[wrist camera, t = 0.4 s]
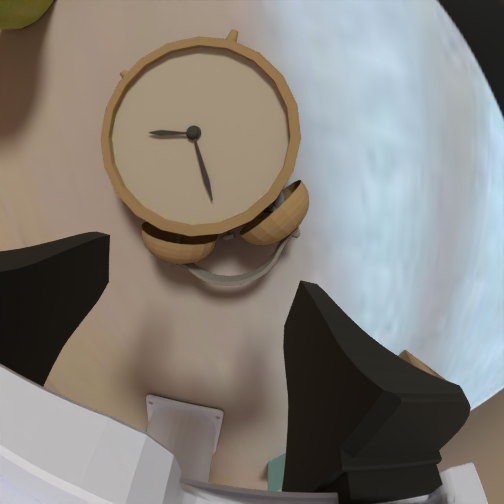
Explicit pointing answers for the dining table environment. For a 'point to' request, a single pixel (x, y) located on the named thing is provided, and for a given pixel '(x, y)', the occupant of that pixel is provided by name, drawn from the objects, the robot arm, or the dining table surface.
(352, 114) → the dining table surface
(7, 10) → the plant pot
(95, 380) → the dining table surface
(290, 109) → the alarm clock
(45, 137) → the dining table surface
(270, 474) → the teal block
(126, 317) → the dining table surface
